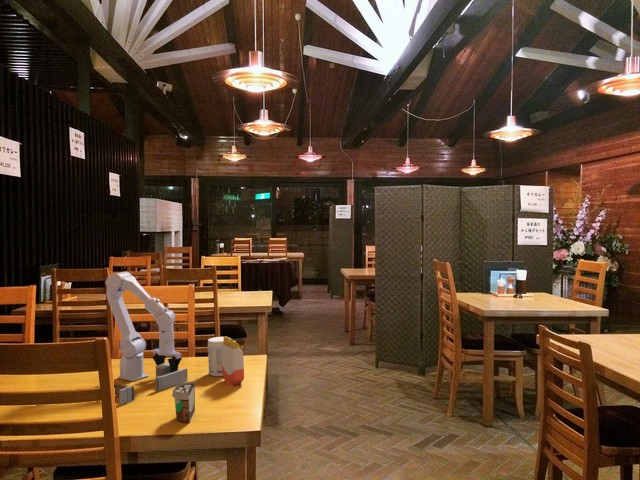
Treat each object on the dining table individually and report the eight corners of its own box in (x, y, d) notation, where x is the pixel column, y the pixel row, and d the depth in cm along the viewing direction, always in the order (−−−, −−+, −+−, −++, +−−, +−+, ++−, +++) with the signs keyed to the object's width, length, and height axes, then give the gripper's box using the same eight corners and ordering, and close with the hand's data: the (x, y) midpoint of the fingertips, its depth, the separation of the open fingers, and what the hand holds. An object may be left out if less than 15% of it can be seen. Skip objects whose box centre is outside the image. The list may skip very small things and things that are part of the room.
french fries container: (232, 377, 196) (231, 334, 195) (245, 384, 187) (244, 339, 187) (222, 380, 193) (221, 335, 193) (234, 387, 184) (233, 340, 184)
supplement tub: (235, 370, 206) (234, 336, 206) (226, 377, 197) (226, 342, 196) (213, 369, 208) (213, 336, 207) (204, 376, 198) (203, 341, 198)
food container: (177, 410, 161) (176, 381, 161) (195, 410, 162) (195, 380, 161) (168, 425, 149) (168, 394, 149) (188, 425, 149) (188, 393, 149)
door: (132, 400, 171) (132, 387, 171) (111, 396, 176) (111, 382, 176) (135, 399, 172) (135, 386, 172) (114, 395, 177) (114, 381, 177)
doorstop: (155, 380, 194) (155, 365, 194) (171, 375, 201) (171, 361, 200) (162, 382, 192) (162, 367, 191) (178, 377, 198) (178, 362, 198)
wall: (119, 403, 168) (118, 389, 168) (184, 380, 193) (184, 367, 193) (122, 404, 167) (121, 390, 167) (188, 381, 193) (187, 368, 192)
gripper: (146, 340, 196) (147, 373, 197) (170, 344, 188) (171, 379, 189) (160, 337, 202) (161, 369, 202) (184, 341, 194) (185, 374, 195)
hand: (167, 373), depth 196 cm, fingers open, 7 cm apart
